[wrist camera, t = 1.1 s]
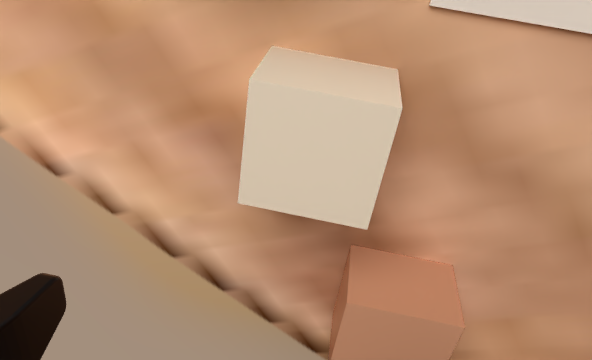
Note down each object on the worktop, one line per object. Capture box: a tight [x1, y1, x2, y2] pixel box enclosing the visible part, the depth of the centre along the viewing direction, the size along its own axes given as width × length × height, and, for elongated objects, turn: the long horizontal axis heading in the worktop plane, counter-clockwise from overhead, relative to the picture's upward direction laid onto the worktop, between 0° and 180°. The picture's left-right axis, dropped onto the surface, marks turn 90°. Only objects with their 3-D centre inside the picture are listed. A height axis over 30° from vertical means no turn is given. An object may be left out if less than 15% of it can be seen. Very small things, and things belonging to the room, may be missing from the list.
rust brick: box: [328, 245, 465, 360], centre depth 23 cm, size 5×5×4 cm
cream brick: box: [238, 46, 403, 230], centre depth 18 cm, size 5×5×4 cm
